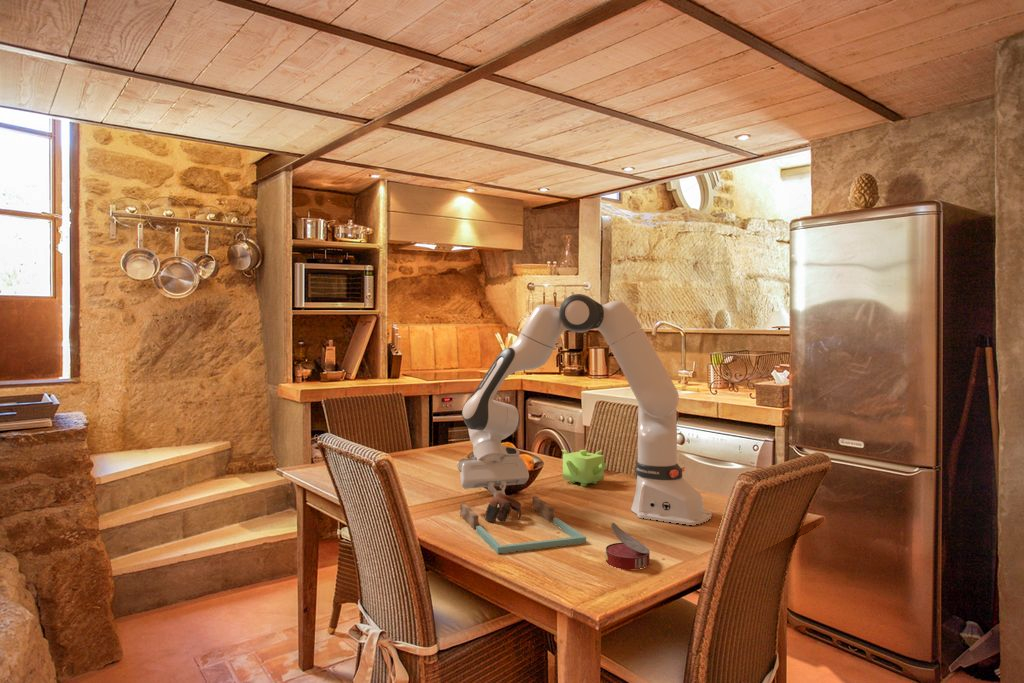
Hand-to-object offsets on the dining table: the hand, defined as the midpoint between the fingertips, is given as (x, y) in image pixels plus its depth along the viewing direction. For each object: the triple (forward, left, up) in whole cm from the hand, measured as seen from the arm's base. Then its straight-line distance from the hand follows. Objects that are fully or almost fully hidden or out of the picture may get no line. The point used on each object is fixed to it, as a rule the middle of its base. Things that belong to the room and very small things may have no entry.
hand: (500, 497), depth 188 cm
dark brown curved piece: (-5, +5, -5) cm, 9 cm away
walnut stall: (-5, +3, -4) cm, 7 cm away
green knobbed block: (+2, -46, -4) cm, 46 cm away
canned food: (-47, +10, -5) cm, 49 cm away
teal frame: (-20, +12, -4) cm, 23 cm away
